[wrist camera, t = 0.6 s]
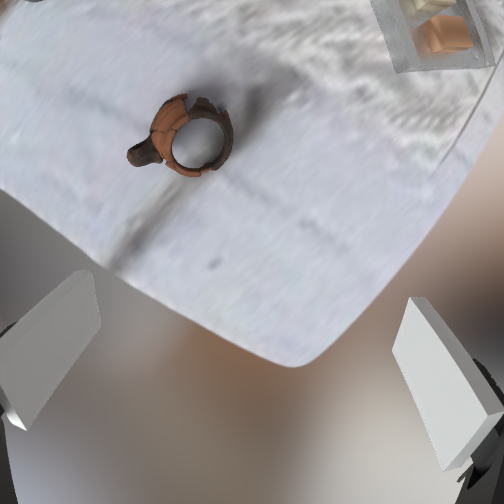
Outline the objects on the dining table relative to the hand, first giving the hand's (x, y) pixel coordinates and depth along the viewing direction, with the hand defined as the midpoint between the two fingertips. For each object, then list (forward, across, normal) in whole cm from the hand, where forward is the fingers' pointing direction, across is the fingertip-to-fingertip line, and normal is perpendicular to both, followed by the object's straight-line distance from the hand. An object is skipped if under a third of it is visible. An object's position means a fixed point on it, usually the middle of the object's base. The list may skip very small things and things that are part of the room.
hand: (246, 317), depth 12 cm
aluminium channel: (+27, +19, +28) cm, 43 cm away
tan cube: (+24, +20, +23) cm, 39 cm away
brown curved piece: (+27, -10, +6) cm, 30 cm away
